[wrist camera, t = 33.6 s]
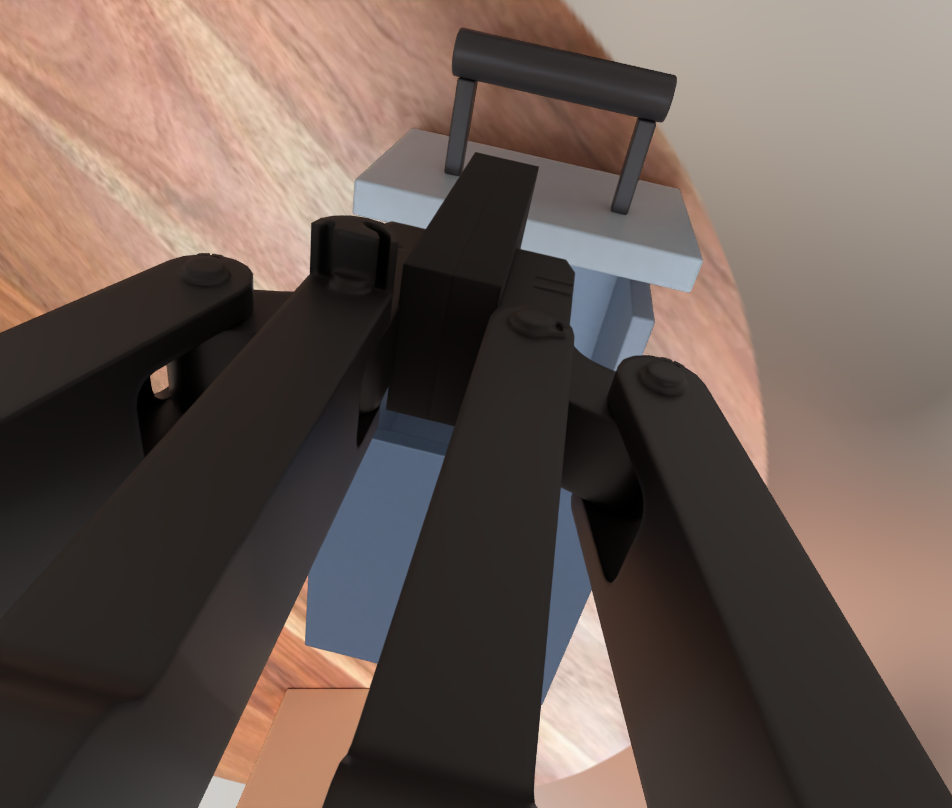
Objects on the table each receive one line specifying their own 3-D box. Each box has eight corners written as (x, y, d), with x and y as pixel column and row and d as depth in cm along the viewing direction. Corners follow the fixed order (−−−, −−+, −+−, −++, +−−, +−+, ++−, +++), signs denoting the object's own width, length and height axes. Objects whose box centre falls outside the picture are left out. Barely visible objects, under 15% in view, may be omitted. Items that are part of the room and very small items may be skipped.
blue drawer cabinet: (382, 315, 34) (314, 424, 26) (624, 373, 34) (630, 501, 26) (360, 517, 42) (304, 645, 34) (553, 564, 42) (542, 705, 34)
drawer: (426, 2, 25) (365, 19, 19) (723, 69, 25) (765, 109, 18) (381, 390, 35) (332, 486, 29) (590, 441, 35) (587, 549, 29)
